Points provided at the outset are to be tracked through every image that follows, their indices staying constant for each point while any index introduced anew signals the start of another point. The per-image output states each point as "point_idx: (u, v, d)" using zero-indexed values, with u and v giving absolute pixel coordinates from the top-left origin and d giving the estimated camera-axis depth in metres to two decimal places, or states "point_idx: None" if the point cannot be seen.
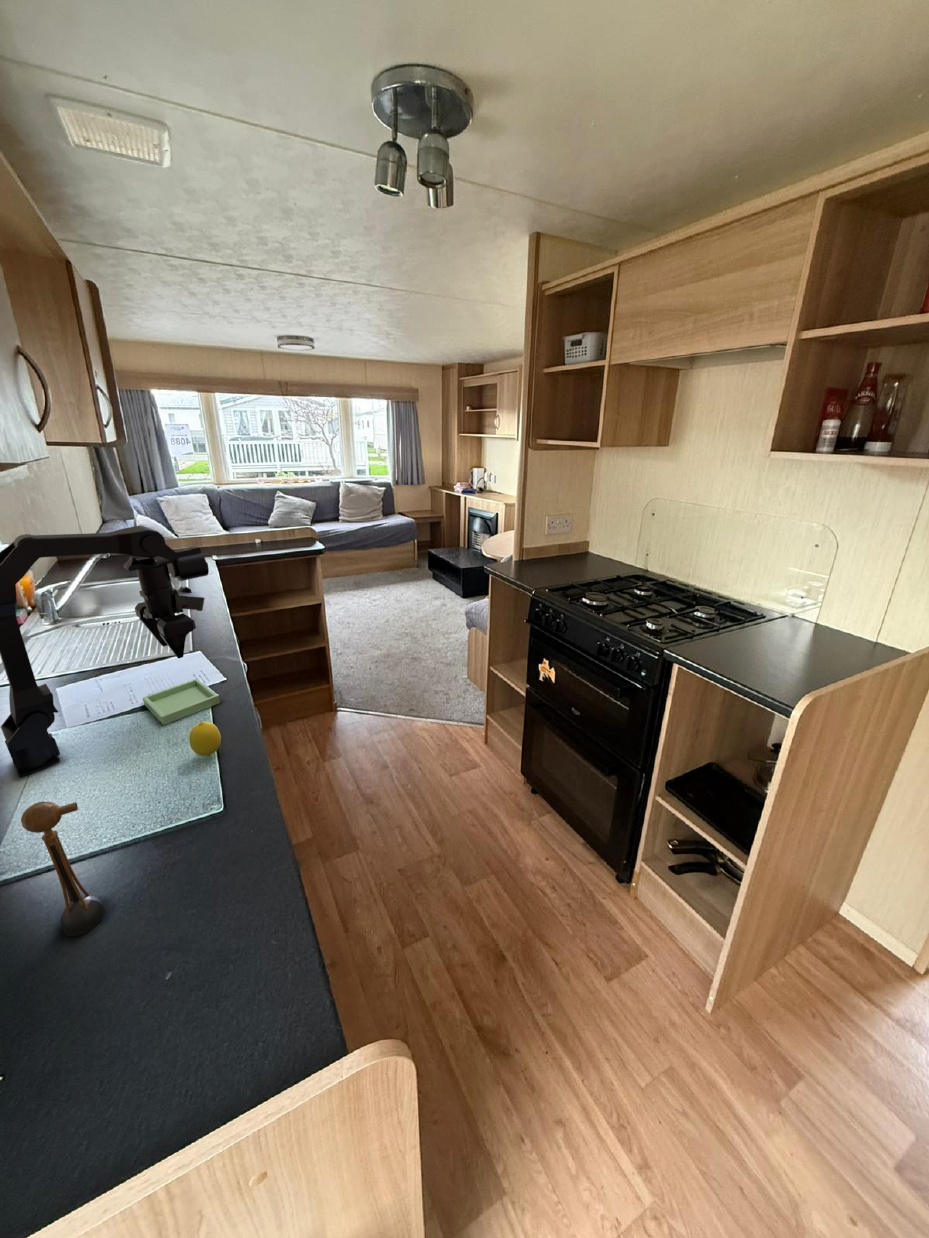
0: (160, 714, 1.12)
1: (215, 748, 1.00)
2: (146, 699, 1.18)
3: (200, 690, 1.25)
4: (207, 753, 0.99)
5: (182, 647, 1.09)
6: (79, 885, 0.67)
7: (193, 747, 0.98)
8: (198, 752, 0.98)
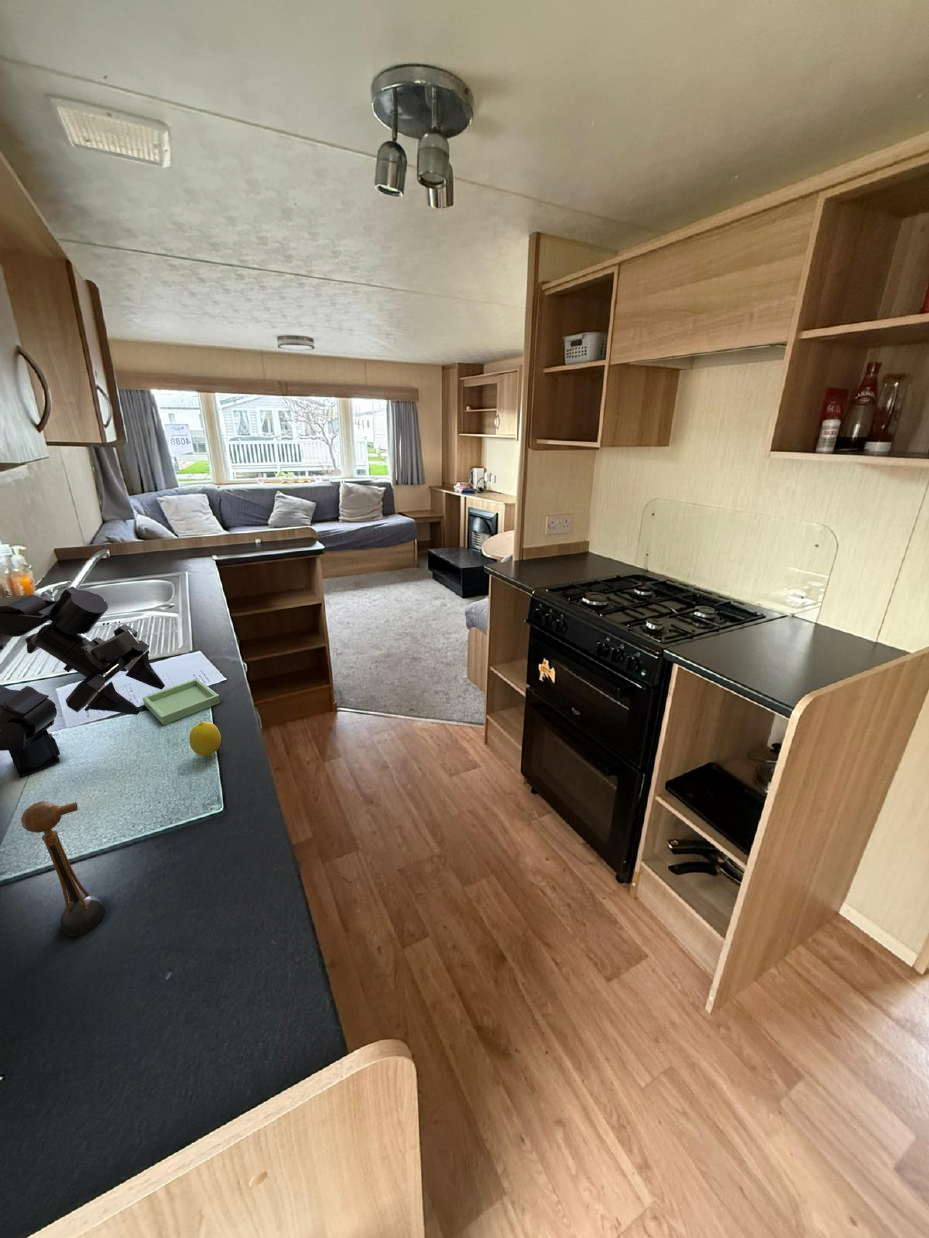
0: (160, 714, 1.12)
1: (215, 748, 1.00)
2: (146, 699, 1.18)
3: (200, 690, 1.25)
4: (207, 753, 0.99)
5: (125, 705, 0.90)
6: (79, 885, 0.67)
7: (193, 747, 0.98)
8: (198, 752, 0.98)
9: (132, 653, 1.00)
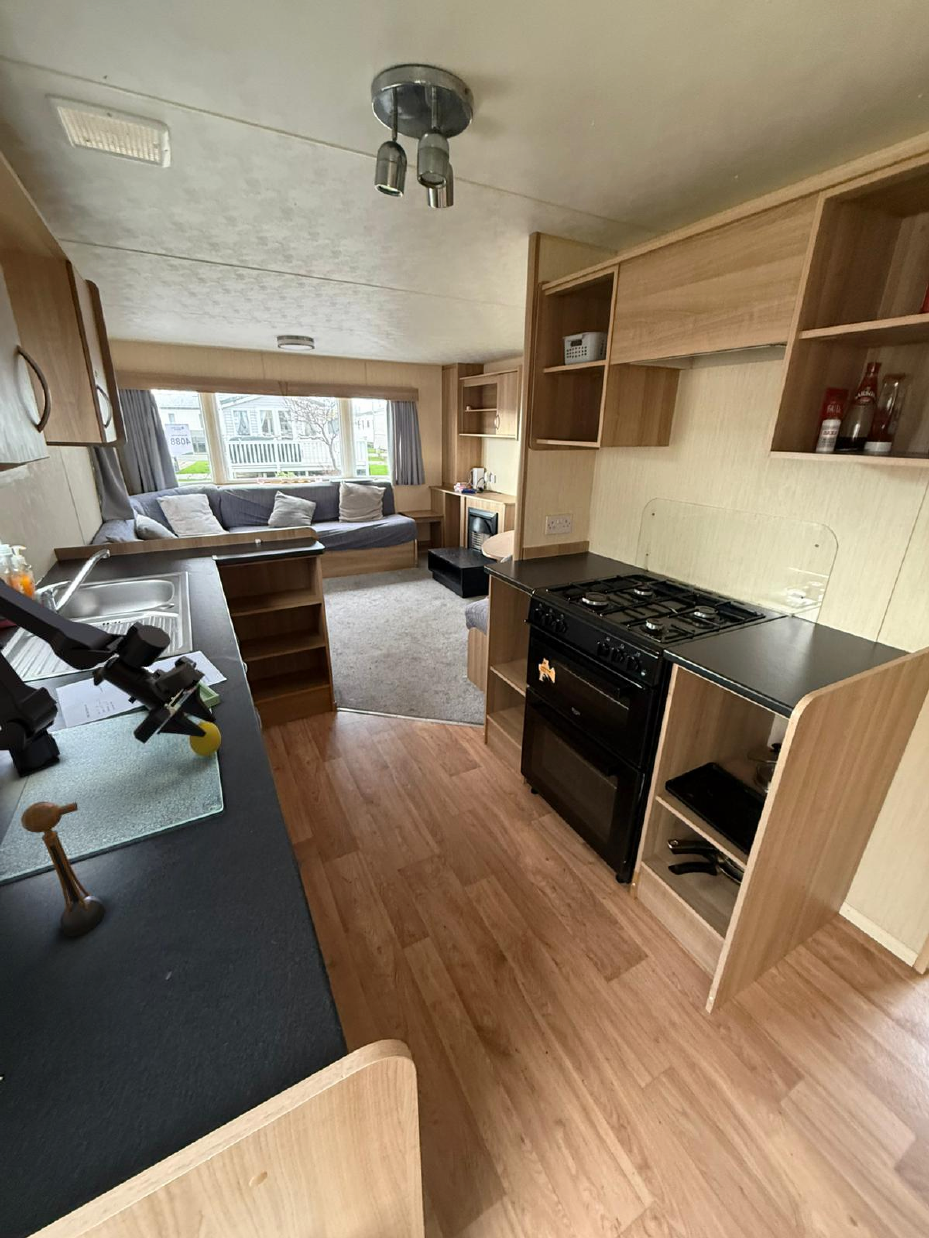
0: None
1: (215, 748, 1.00)
2: None
3: (200, 690, 1.25)
4: (207, 753, 0.99)
5: (192, 728, 0.95)
6: (79, 885, 0.67)
7: (193, 747, 0.98)
8: (198, 752, 0.98)
9: None
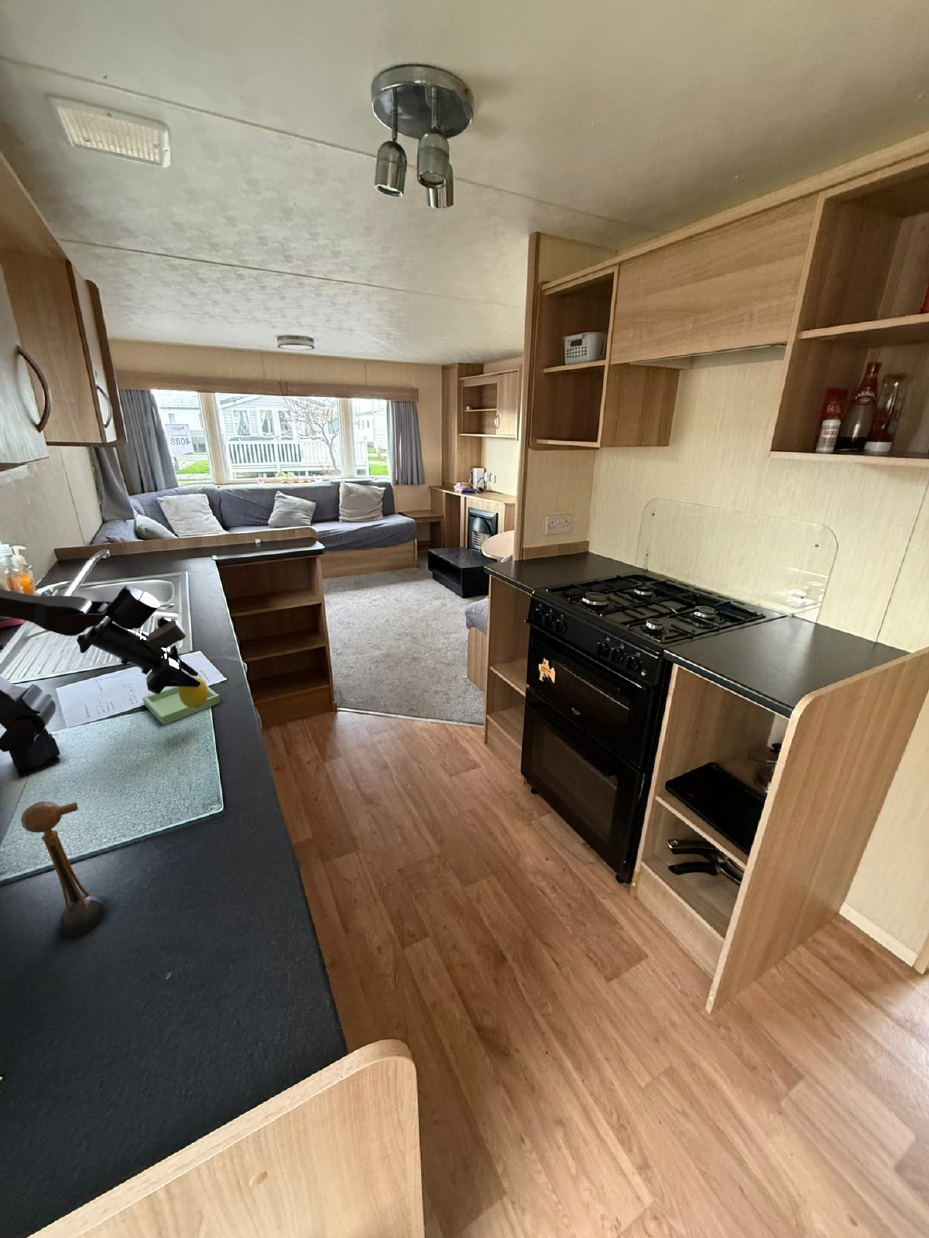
0: (160, 714, 1.12)
1: (206, 697, 1.09)
2: (146, 699, 1.18)
3: None
4: (201, 703, 1.07)
5: (190, 678, 1.04)
6: (79, 885, 0.67)
7: (187, 699, 1.05)
8: (193, 703, 1.06)
9: None
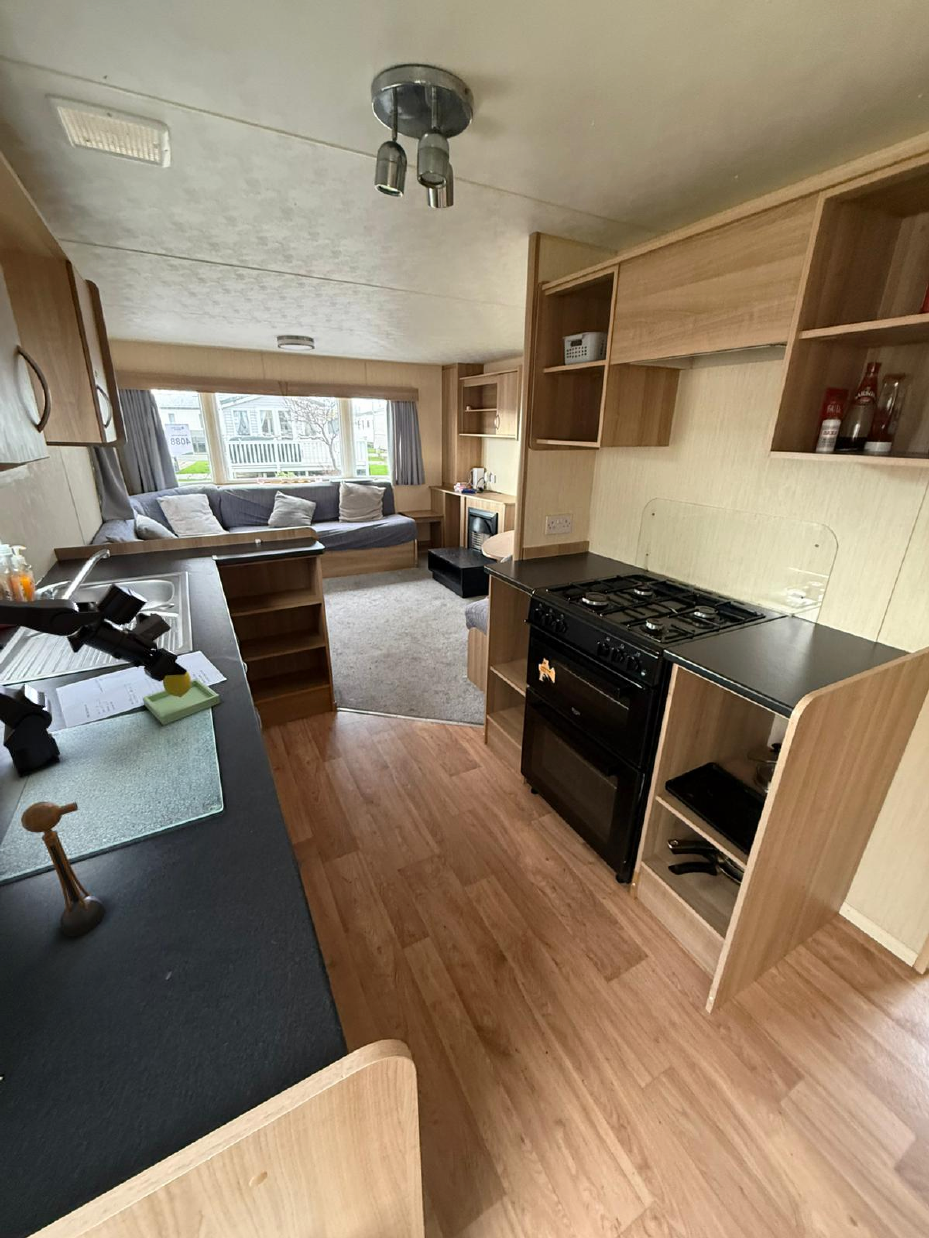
0: (160, 714, 1.12)
1: (190, 685, 1.16)
2: (146, 699, 1.18)
3: (200, 690, 1.25)
4: (187, 690, 1.14)
5: (179, 667, 1.10)
6: (79, 885, 0.67)
7: (175, 687, 1.12)
8: (180, 690, 1.13)
9: None
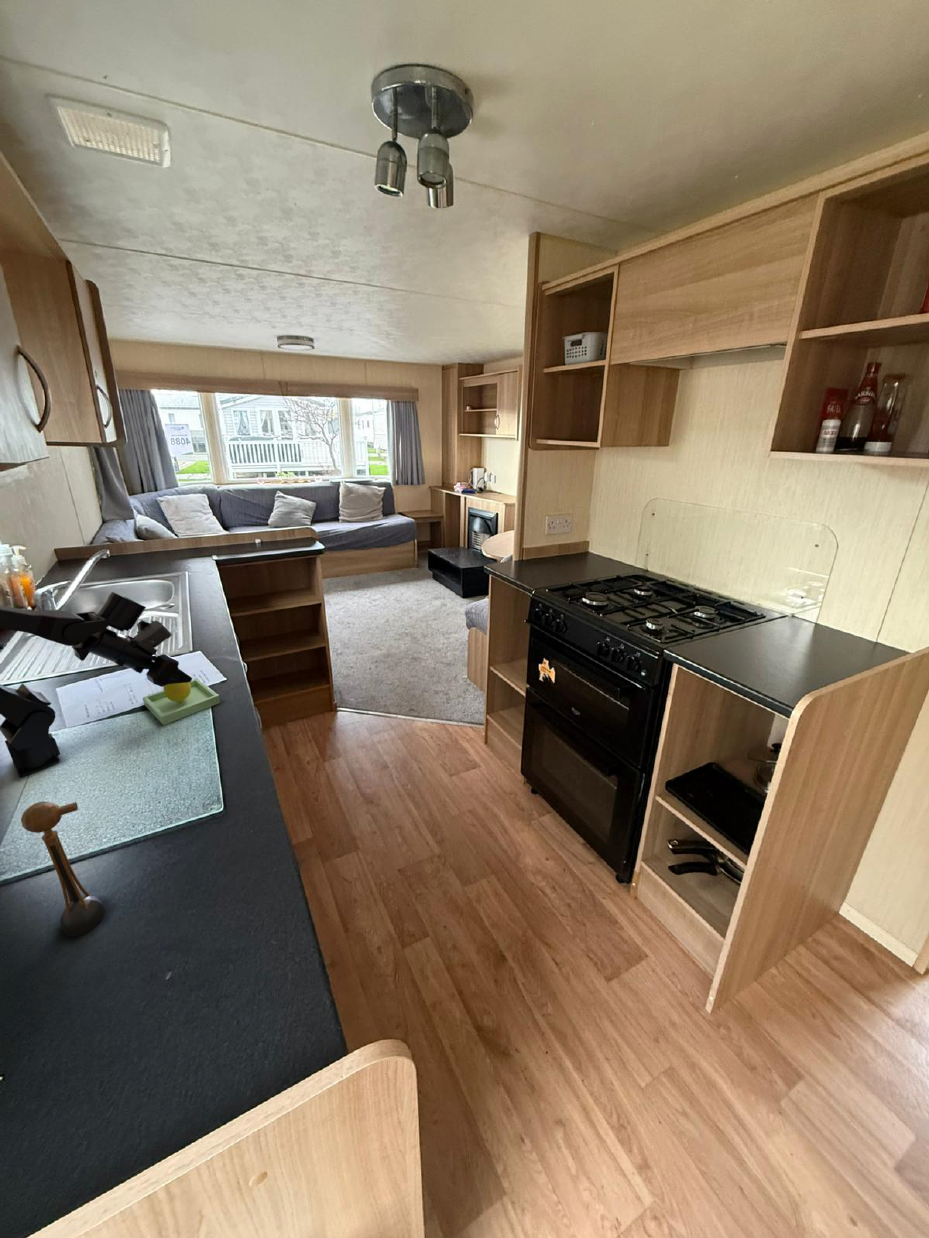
0: (160, 714, 1.12)
1: (190, 690, 1.20)
2: (146, 699, 1.18)
3: (200, 690, 1.25)
4: (187, 695, 1.18)
5: (184, 675, 1.13)
6: (79, 885, 0.67)
7: (176, 693, 1.16)
8: (180, 696, 1.17)
9: None
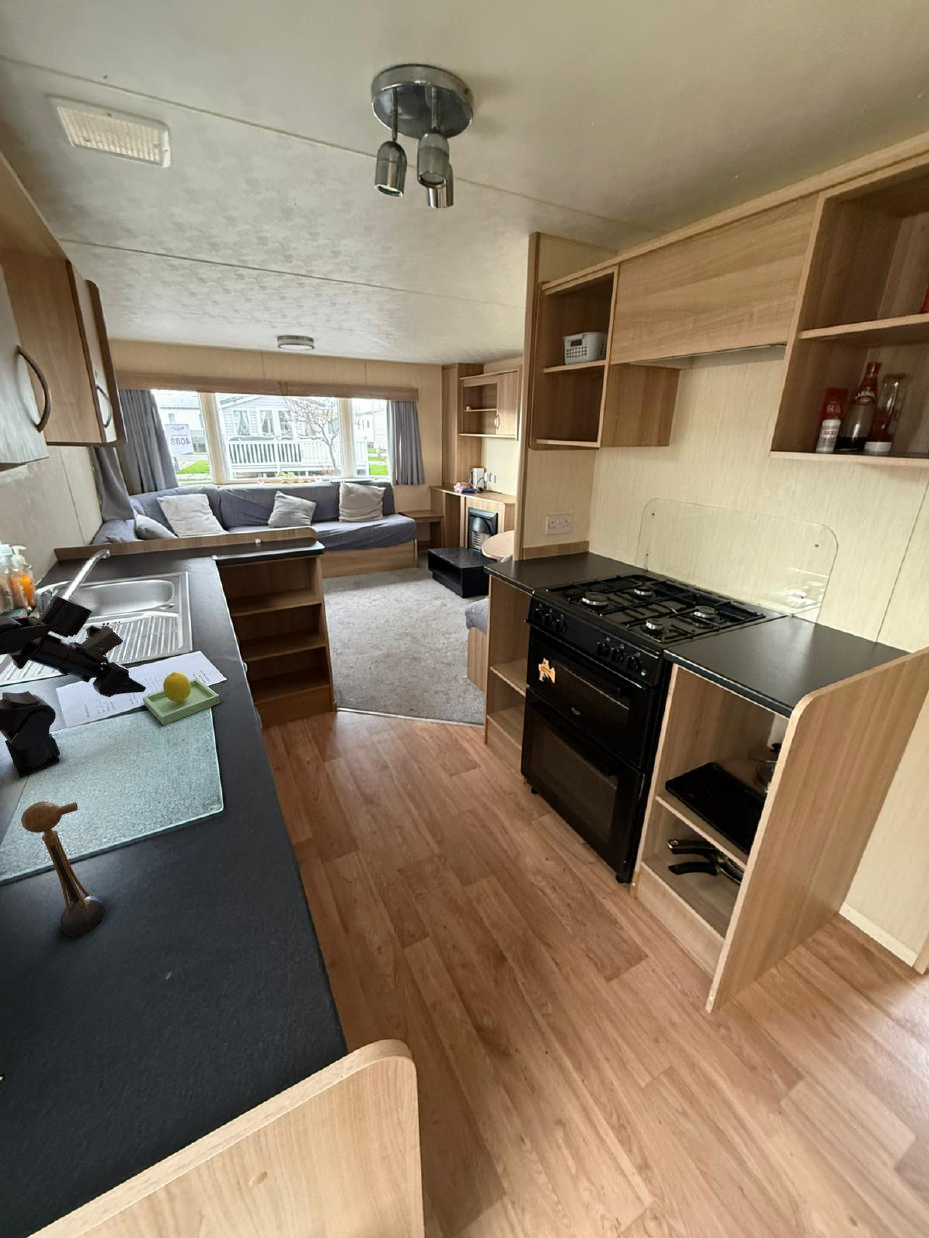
0: (160, 714, 1.12)
1: (190, 690, 1.20)
2: (146, 699, 1.18)
3: (200, 690, 1.25)
4: (187, 695, 1.18)
5: (136, 684, 1.06)
6: (79, 885, 0.67)
7: (176, 693, 1.16)
8: (180, 696, 1.17)
9: None
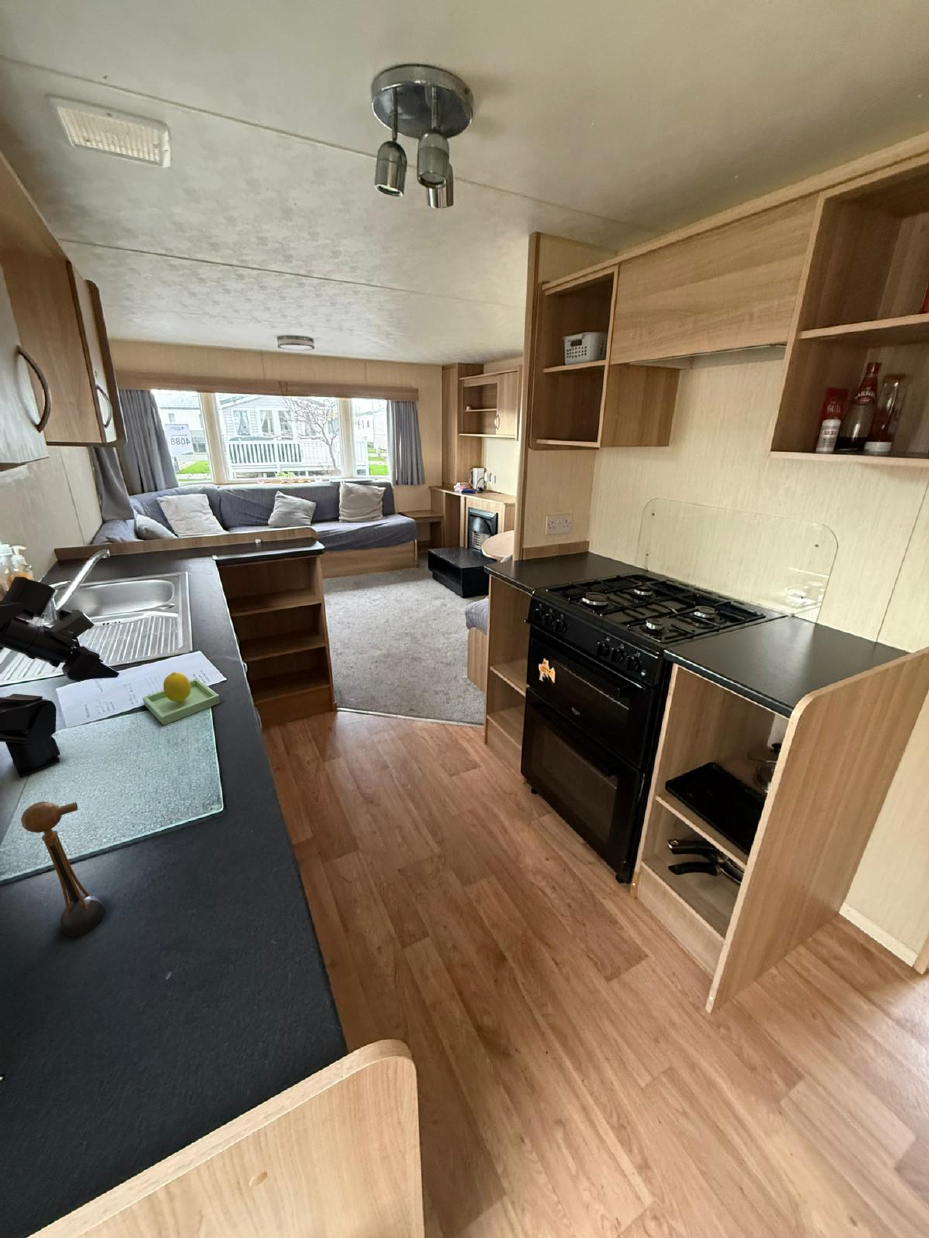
0: (160, 714, 1.12)
1: (190, 690, 1.20)
2: (146, 699, 1.18)
3: (200, 690, 1.25)
4: (187, 695, 1.18)
5: (109, 669, 1.03)
6: (79, 885, 0.67)
7: (176, 693, 1.16)
8: (180, 696, 1.17)
9: None
